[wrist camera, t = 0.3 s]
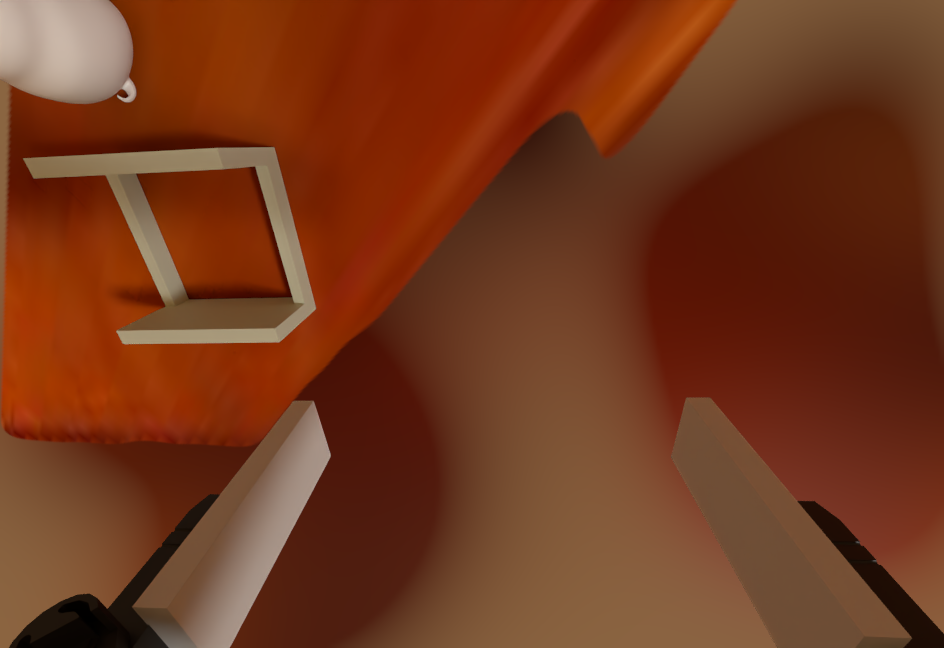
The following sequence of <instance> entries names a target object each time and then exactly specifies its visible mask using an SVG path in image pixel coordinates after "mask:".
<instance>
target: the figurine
mask: <svg viewBox="0 0 944 648" xmlns="http://www.w3.org/2000/svg"><path fill="white" fill-rule="evenodd" d="M132 62H133V44H132V38H131V34H130V31H129V28H128V26H127V23H126V21H125V19H124V18H123V16H122V14H121V13H120V11H119V10H118V9H117V8H116V7H115V6H114V5H113V4H112V3H111V2H110V1H109V0H0V80H2V81H4V82H6V83H8V84H10V85H12V86H14V87H16V88H18V89H20V90H22V91H25V92H27V93H30V94H32V95H35V96H38V97H42V98H46V99H50V100H54V101H59V102H65V103H73V104H90V103H96V102H100V101H103V100H106V99H108V98H110V97H112V96H113V95H115V94H116V93H117V92H118V91H119V90H120V89H123V90H125V91H126V93H127V94H128V97H127V98H122V97H120V96H118V95H117V97H118V98H119V99H120V100H122V101H123V102H132V101H133V100H134V99H135V97H136V88H135V85H134V83H133V82H132V81H131V79H130V78H129V74H130V71H131V67H132Z"/></svg>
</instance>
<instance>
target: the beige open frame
mask: <svg viewBox="0 0 944 648" xmlns="http://www.w3.org/2000/svg"><path fill="white" fill-rule="evenodd" d="M23 160H24V161H25V163H26V165H27V167H28V169H29V171H30V173H31V174H32V176H33V178H55V177H75V176H95V175H106V177H107V179H108V181H109V184H110V186H111V188H112V190H113V192H114V195H115V197H116V199H117V201H118V203H119V205H120V208H121V210H122V212H123V214H124V216H125V219H126V221H127V223H128V225H129V227H130V230H131V232H132V234H133V236H134V238H135V240H136V243H137V245H138V247H139V249H140V251H141V254H142V256H143V258H144V260H145V262H146V264H147V267H148V269H149V271H150V273H151V275H152V278H153V280H154V282H155V284H156V286H157V289H158V291H159V293H160V295H161V297H162V299H163V302H164V304H165V306H166V307H164V308H162V309H160V310H157V311H155V312H153V313H151V314H149V315H147V316H145V317H143V318H141V319H139V320H137V321H135V322H133V323H131V324H129V325H127V326H125V327H123V328H121V329H119V330H117V331H116V332H117V333H118V335H119V337H120V339H121V341H122V343H123V344H168V343H253V342H280V341H281V340H282V339H284V338H285V337H286V336H287V335H288V334H289V333H290V332H291V331H292V330H293V329H295V328H296V327H297V326H298V325H299V324H300V323H301V322H302V321H303V320H304V319H305V318H307V317H308V316H309V315H310V314H311V313H312V312H313V311H314V310H315V309H316V306H315V303H314V299H313V295H312V291H311V287H310V283H309V279H308V275H307V272H306V268H305V264H304V260H303V256H302V252H301V248H300V244H299V241H298V237H297V233H296V229H295V225H294V221H293V217H292V214H291V210H290V206H289V202H288V198H287V194H286V190H285V186H284V183H283V179H282V175H281V171H280V167H279V163H278V159H277V155H276V152H275V148H274V147H251V148H206V149H187V150H169V151H150V152H132V153H113V154H94V155H76V156H57V157H39V158H23ZM254 166H255V168H256V171H257V175H258V178H259V182H260V185H261V189H262V192H263V196H264V199H265V203H266V206H267V210H268V213H269V217H270V220H271V224H272V227H273V231H274V234H275V238H276V241H277V245H278V248H279V252H280V255H281V259H282V262H283V266H284V269H285V273H286V276H287V280H288V283H289V287H290V290H291V294H292V297H283V298H236V299H189V298H188V296H187V294H186V291H185V289H184V286H183V284H182V282H181V279H180V277H179V275H178V272H177V270H176V268H175V265H174V263H173V260H172V258H171V256H170V253H169V251H168V249H167V246H166V244H165V242H164V239H163V237H162V234H161V232H160V230H159V227H158V225H157V223H156V220H155V218H154V215H153V213H152V211H151V208H150V206H149V204H148V201H147V199H146V197H145V194H144V192H143V189H142V187H141V185H140V182H139V180H138V178H137V175H136V173H156V172H177V171H197V170H217V169H231V168H243V167H254Z"/></svg>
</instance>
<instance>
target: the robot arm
mask: <svg viewBox="0 0 944 648" xmlns="http://www.w3.org/2000/svg"><path fill="white" fill-rule="evenodd" d="M330 457H331V455H330V452H329V449H328V445H327V442H326V439H325V436H324V433H323V429H322V426H321V423H320V420H319V417H318V414H317V410H316V407H315V404H314V401H293V403H292V404H291V405H290V406H289V408H288V409H287V410H286V411H285V413H284V414H283V415H282V417H281V418H280V419H279V420H278V422H277V423H276V424H275V425H274V427H273V428H272V429H271V431H270V432H269V433H268V434H267V436H266V437H265V438H264V439H263V441H262V442H261V443H260V445H259V446H258V447H257V448H256V450H255V451H254V452H253V454H252V455H251V456H250V457H249V459H248V460H247V461H246V462H245V464H244V465H243V466H242V468H241V469H240V470H239V471H238V473H237V474H236V475H235V476H234V478H233V479H232V480H231V482H230V483H229V484H228V485H227V487H226V488H225V489H224V490H223V492H222V493H221V494H220V495H214V494H210V495H208V496H207V497H206V498H205V499H203V500H202V501H201V502H200V503H199V504H197V505H196V506H195V507H193V508H192V509H191V510H190V511H189V512H188V513H187V514H186V516H185V517H184V518H183V519H182V520H181V522H180V523H179V524H178V525H177V526H176V528H175V531H174V532H171V534H170V535H169V536H168V537H167V538H166V540H165V541H164V542H163V543H162V547H161V548H158V549H157V550H156V552H155V553H154V554H153V555H152V556H151V558H150V559H149V560H148V561H147V562H146V564H145V565H144V566H143V567H142V568H141V570H140V571H139V572H138V573H137V575H136V576H135V577H134V578H133V579H132V581H131V582H130V583H129V584H128V585H127V586H126V588H125V589H124V590H123V591H122V593H121V594H120V595H119V596H118V597H117V598H116V600H115V601H114V602H113V603H112V604H111V606H110V607H109V608H108V609H107V608H106V607H105V606H104V605H103V604H102V603H101V602H100V601H99V600H98V599H97V598H96V597H94V596H93V595H91V594H83V595H82V594H81V595H75V596H73V597H70V598H68V599H65V600H63V601H61V602H59V603H57V604H56V605H54V606H53V607H51V608H49V609H48V610H46V611H44V612H43V613H42V614H40V615H39V616H38V617H37V618H36V619H34V620H33V621H32V622H31V623H30V624H28V625H27V626H26V627H25V628H24V629H23V631H22V632H21V633H20V634H19V635H18V636H17V638H16V639H15V640H14V641H13V642H12V644H11V645H10V647H9V648H230V646H231V644H232V642H233V640H234V638H235V636H236V635H237V633H238V631H239V629H240V627H241V625H242V623H243V621H244V619H245V617H246V616H247V614H248V612H249V610H250V608H251V606H252V604H253V602H254V600H255V598H256V597H257V595H258V593H259V591H260V589H261V587H262V585H263V583H264V582H265V580H266V578H267V576H268V574H269V572H270V570H271V568H272V566H273V565H274V563H275V561H276V559H277V557H278V555H279V553H280V551H281V549H282V547H283V545H284V544H285V542H286V540H287V538H288V536H289V534H290V532H291V530H292V528H293V527H294V525H295V523H296V521H297V519H298V517H299V515H300V513H301V512H302V510H303V508H304V506H305V504H306V502H307V500H308V498H309V496H310V494H311V493H312V491H313V489H314V487H315V485H316V483H317V481H318V479H319V477H320V475H321V474H322V472H323V470H324V468H325V466H326V464H327V462H328V460H329V458H330ZM671 458H672V460H673V462H674V463H675V465H676V467H677V469H678V470H679V472H680V474H681V476H682V478H683V480H684V481H685V483H686V485H687V487H688V488H689V490H690V492H691V494H692V496H693V498H694V499H695V501H696V503H697V505H698V506H699V508H700V510H701V512H702V514H703V515H704V517H705V519H706V521H707V522H708V524H709V526H710V528H711V530H712V532H713V533H714V535H715V537H716V539H717V541H718V542H719V544H720V546H721V548H722V549H723V551H724V553H725V555H726V557H727V558H728V560H729V562H730V564H731V566H732V568H733V569H734V571H735V573H736V575H737V576H738V578H739V580H740V582H741V583H742V585H743V587H744V589H745V591H746V592H747V594H748V596H749V598H750V600H751V602H752V603H753V605H754V607H755V609H756V611H757V612H758V614H759V616H760V618H761V619H762V621H763V623H764V625H765V627H766V628H767V630H768V632H769V634H770V635H771V637H772V639H773V641H774V643H775V644H776V646H777V648H944V634H943V632H941V630H940V629H939V628H938V627H937V626H936V625H935V624H934V623H933V621H932V620H931V619H930V618H929V617H928V616H927V615H926V614H925V613H924V612H923V611H922V609H921V608H920V607H919V606H918V605H917V604H916V603H915V602H914V601H913V600H912V599H911V597H909V595H908V594H907V593H906V592H905V591H904V590H903V589H902V588H901V587H900V585H899V584H898V583H897V582H896V581H895V580H894V579H893V578H892V577H891V575H889V573H888V572H887V571H886V570H885V569H884V568H883V567H882V566H881V565H878V564H877V562H876V559H875V558H874V557H873V556H872V555H871V554H870V553H869V551H868V550H867V549H866V548H865V547H864V546H861V545H860V542H859V541H858V539H857V538H856V537H855V536H854V535H853V534H852V533H851V532H850V531H849V529H848V528H847V527H846V526H845V525H844V524H843V523H842V522H841V521H840V520H839V519H838V518H837V517H835V516H834V515H832V514H831V513H830V512H828V511H827V510H826V509H824V508H823V507H821V506H820V505H819V504H817V503H816V502H815V501H796V499H795V498H794V497H793V496H792V495H791V493H790V492H789V491H788V490H787V489H786V488H785V486H784V485H783V484H782V483H781V481H780V480H779V479H778V478H777V477H776V476H775V475H774V473H773V472H772V471H771V470H770V468H769V467H768V466H767V465H766V464H765V463H764V461H763V460H762V459H761V458H760V457H759V455H758V454H757V453H756V452H755V451H754V449H753V448H752V447H751V446H750V445H749V443H748V442H747V441H746V440H745V439H744V437H743V436H742V435H741V434H740V433H739V432H738V430H737V429H736V428H735V427H734V426H733V424H732V423H731V422H730V421H729V420H728V418H727V417H726V416H725V415H724V414H723V413H722V411H721V410H720V409H719V408H718V407H717V406H716V404H715V403H714V402H713V401H712V400H711V398H686V401H685V405H684V409H683V413H682V417H681V421H680V425H679V429H678V432H677V436H676V440H675V444H674V448H673V452H672V456H671Z"/></svg>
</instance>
